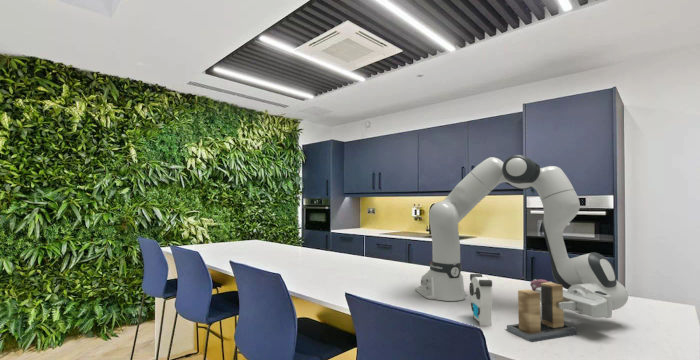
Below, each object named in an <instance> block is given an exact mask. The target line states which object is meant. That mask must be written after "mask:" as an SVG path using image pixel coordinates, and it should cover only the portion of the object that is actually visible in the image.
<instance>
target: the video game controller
mask: <svg viewBox="0 0 700 360" xmlns="http://www.w3.org/2000/svg"><path fill="white" fill-rule="evenodd" d="M548 282H552V281H548V280H546V279H543V278H542V279H535V278H534V279H533V280H531V282H530V284H529V285H530V287H531V290H533V291H536V288H541V283H548Z"/></svg>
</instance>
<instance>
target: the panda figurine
mask: <svg viewBox="0 0 700 360" xmlns="http://www.w3.org/2000/svg"><path fill="white" fill-rule="evenodd" d="M469 279H470V283H469V295H470V298H471V303H470V306H471V307H470V308H471V311H472V319H474V320H476V321H477V322H478V326H488V327H489V326H490V327H491V326H493V325H492V307H493V304H494V295H493V293H494V292H493V281H492V280H491V279H489V278H488V277H486V276H483V274H482V273H470V274H469Z"/></svg>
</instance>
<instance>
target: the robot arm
mask: <svg viewBox="0 0 700 360" xmlns="http://www.w3.org/2000/svg"><path fill="white" fill-rule="evenodd" d="M502 183H505V184H507V185H508V186H511V187H513V188H515V189H518V190H529V189H531V188H533V189H534V190H535V191H536V192H537V195H538V197H539V199H540V201H541V204H542V208H543V218H542V221H541V225H542V232H543V235H544V239H545V243H546V246H547V251H548V254H549V259H550V263H551V274H552V277H553V280H554V281H555V282H556V284H560V285H563V288H564V289H563V302H561V301H559V302H556V307H557V308H559V309H563V310H569V311H573V312H575V313H578V314H579V315H584V316H588V317H592V318H596V319H597V318H599V319H600V318H605V319H611V318H612V317H613V311H615V310H619V309H621V308H623V307H624V306H625V305H626V304H627V303H628V300H629V294H628V290H627V289H626V287H625V286H624V285H623V284H622V283H620V281H618V279H617V273H616V269H615V268H614V265H613V264H612V262H611V261H610V260H609V259H608V258H607V257H606V256H604V255H603V254H600V253H598V252H594V251H593V252H590V253H585V254H582V255H578V256H575V257H571V258H570V257H569V255H568V252H567V248H566V244H565V241H564V240H565V239H564V235H563V233H564V230H565V229H566V227H567V226H568V224H570V222H572V220H574V218H575V217H577V215H578V213H579V212H580V208H581V204H580V203H581V202H580V198H579V196H578V194H577V192H576V191H575V188H574V186H573V185H572V183H571V181H570V179H569V178H568V176H567V175H566V173H565V172H564V171H563V169H562V168H561V167H559V166H557V165H556V166H555V165H548V166H544V167H541V166H540V165H539V164H538V163H537V162H535V161H534V160H532V159H531V158H530V157H528V156H526V155H523V154H513V155H510V156H509V157H507V158H506V159H505V160H504V161H503V160H501V159H500V158H497V157H494V156H492V157H491V156H490V157H488V158H486V159H485V160H482V161H481V162H480V163H478V164H477V165H476V166H475V167H474V168H473V169H471V170H470V172H469V173H468V174H466V176H465V177H463V179H462V180H460V181H459V182H458V183H457V184H456V185H455V186H454V188H453V189H452V191H450V192H449V194H448V195H447V196H446V197H445V198H444V199H443V200H442V201H437V202H436V203H434V204H432V206H431V207H430V209H429V212H428V219H429V227H430V234H431V241H432V242H431V244H432V260H431V261H430V262H429V265H430V266H429V270H428V271H427V272H426V273H425V274H423V275H422V276H421V278H420V285H419V286H416V287H415V291H416V292H418V294H420V295H422V296H423V297H424V298H426V299H429V300H438V301H445V302H457V301H462V300H465V299H466V296H467V292H466V291H465V286H464V276H463V275H462V273H461V272H462V262H461V241H460V235H459V223H460V222H461V221H462V220H463V219H464V218H465V217H466V216H467V215H468V214H469V213H471V211H472V210H473V209H474V208H475V207H476V206H477V205H478V204H479V203H481V202H482V200H483V199H485V198H486V197H487V196H488V195H489V194H490V193H491V191H493V190H494V189H495V188H497V186H498V185H500V184H502ZM535 291H536V292H539V293H540V303H541V288H536V290H535Z"/></svg>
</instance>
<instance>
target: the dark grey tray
mask: <svg viewBox="0 0 700 360" xmlns="http://www.w3.org/2000/svg"><path fill="white" fill-rule="evenodd" d="M540 322H541V332H535V333H526V332H524V331H522V330H520V329H519V323H514V324H508V325H506V328H505V329H504V331H507V332H508V333H510V334H513V335H516V336H517V337H519V338H521V339H524V340H526V341H528V342H530V343H537V342H543V341H549V340H554V339H555V340H556V339H561V338H566V337H573V336H580V333H578V332H577V327H576V326H572V325H570V324H568V323H564V327H558V328H552V327H550V326H547V325H544V324H542V320H540Z"/></svg>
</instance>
